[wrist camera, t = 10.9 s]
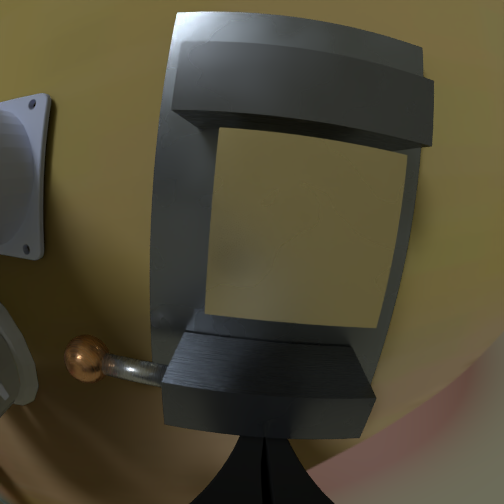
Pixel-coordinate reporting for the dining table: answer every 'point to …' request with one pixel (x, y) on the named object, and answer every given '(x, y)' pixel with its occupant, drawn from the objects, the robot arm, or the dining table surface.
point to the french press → (15, 365)
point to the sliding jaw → (244, 385)
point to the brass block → (302, 228)
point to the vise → (273, 120)
